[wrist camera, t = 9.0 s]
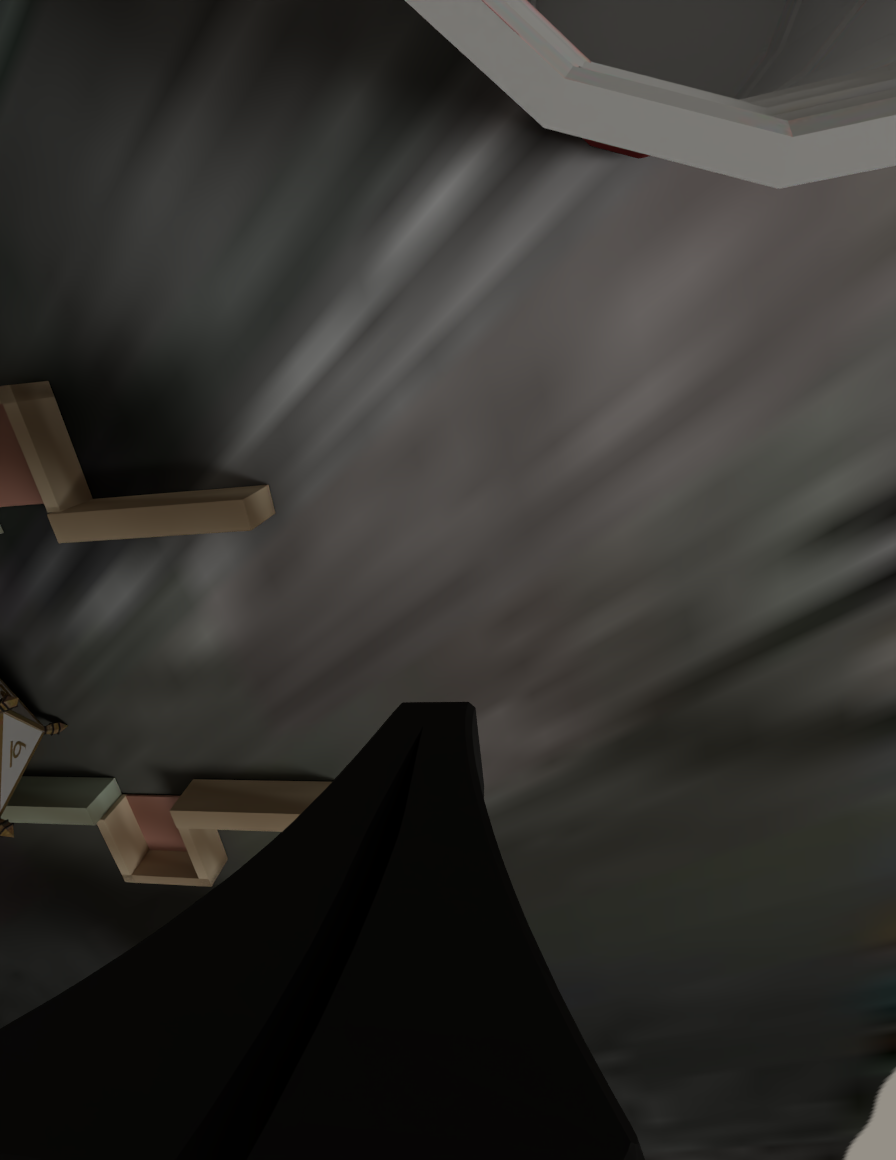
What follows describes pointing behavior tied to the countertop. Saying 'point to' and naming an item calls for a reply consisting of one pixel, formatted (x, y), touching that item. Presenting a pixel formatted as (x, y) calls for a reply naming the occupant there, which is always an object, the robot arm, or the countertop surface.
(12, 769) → the game die
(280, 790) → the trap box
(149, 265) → the countertop surface
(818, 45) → the plastic cup
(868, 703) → the countertop surface
